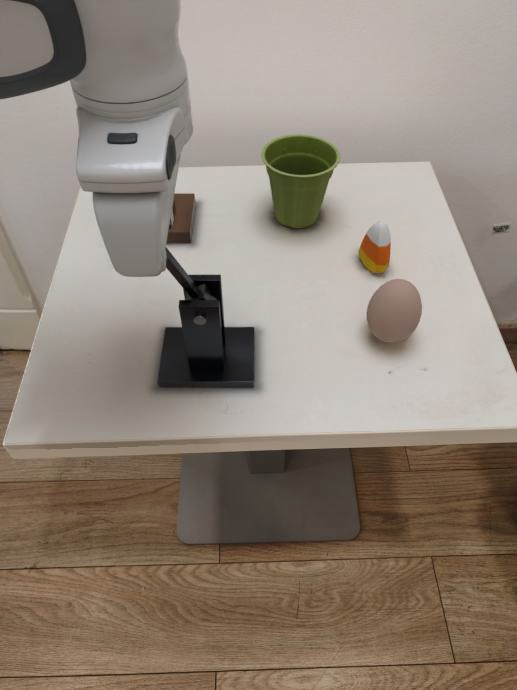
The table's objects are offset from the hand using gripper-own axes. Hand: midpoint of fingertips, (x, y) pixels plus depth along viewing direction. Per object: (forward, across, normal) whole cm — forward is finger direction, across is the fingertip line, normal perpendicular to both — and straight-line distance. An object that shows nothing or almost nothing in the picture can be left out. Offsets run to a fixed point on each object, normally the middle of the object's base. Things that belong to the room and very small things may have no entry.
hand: (161, 245), depth 52 cm
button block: (+19, -28, -7) cm, 35 cm away
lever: (+5, 0, 0) cm, 5 cm away
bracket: (+19, 0, +3) cm, 20 cm away
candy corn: (+20, -18, +27) cm, 38 cm away
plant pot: (+20, -30, +16) cm, 39 cm away
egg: (+20, -4, +27) cm, 34 cm away
